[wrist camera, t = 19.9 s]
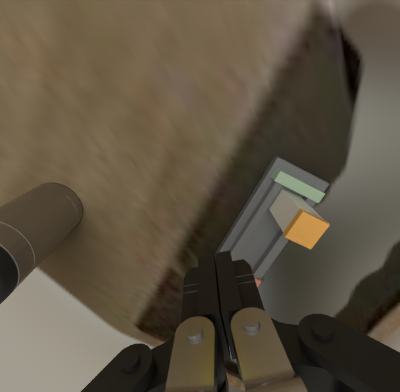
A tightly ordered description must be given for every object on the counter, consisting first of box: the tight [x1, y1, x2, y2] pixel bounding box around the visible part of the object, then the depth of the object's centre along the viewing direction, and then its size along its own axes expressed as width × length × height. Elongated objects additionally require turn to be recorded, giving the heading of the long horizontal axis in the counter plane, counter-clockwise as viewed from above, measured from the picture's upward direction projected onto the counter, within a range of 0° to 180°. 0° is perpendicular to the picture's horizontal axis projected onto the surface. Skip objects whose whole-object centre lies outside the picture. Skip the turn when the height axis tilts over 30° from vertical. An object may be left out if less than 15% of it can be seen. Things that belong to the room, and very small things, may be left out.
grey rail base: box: [214, 155, 329, 287], centre depth 45 cm, size 24×10×4 cm, turn 153°
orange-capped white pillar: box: [268, 187, 330, 249], centre depth 38 cm, size 4×4×10 cm
